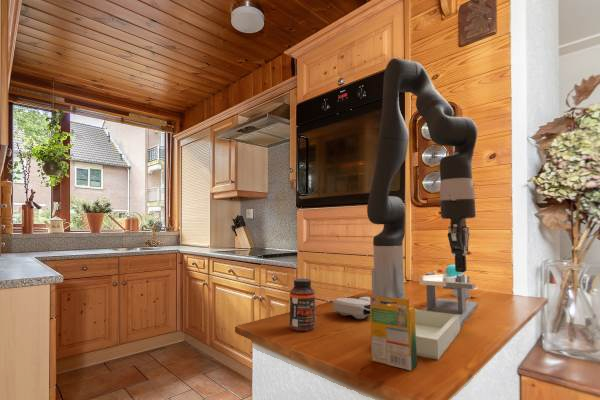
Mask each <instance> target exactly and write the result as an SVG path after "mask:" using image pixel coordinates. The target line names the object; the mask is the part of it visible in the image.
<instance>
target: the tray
mask: <svg viewBox="0 0 600 400" xmlns="http://www.w3.org/2000/svg"><path fill="white" fill-rule="evenodd" d="M415 326H416V351H417V356H418V357H421V358H427V359H432V360H440V359H441V357H442V356H443V354H444V353H445V351H447V349H448V348H449V347H450V345H451V343H452V342H453V341H454V340H456V337H457V336H458V335H459V333H460V332H461V327H460V315H455V314H448V313H440V312H432V311H425V310H422V309H416V308H415Z"/></svg>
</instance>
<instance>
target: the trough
mask: <svg viewBox="0 0 600 400" xmlns="http://www.w3.org/2000/svg"><path fill="white" fill-rule="evenodd" d="M461 274H465V272H461ZM419 285H424V286H426V285H433V286H435V287H443V289H447V290H452V289H455V290H457V288H467V289H470V290H472V289H474V288H475V287H476V284H475V283H472V282H470V283H467V275H465V283H460V282H457V276H454V277H449V276H448V275H447V274H446V273H440V274H435V275H426V274H425V275H419Z"/></svg>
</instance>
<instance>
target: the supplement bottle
mask: <svg viewBox="0 0 600 400" xmlns="http://www.w3.org/2000/svg"><path fill="white" fill-rule="evenodd" d="M311 283H312V280H311V279H309V278H295V279H294V280H293V285H294V286H293V288H291V289H290V291H289V327H290V329H291V330H293V331H295V332H309V331H312V330H314V329H315V327H316V292H315V290H314V289H313V288H312V286H311V285H312V284H311Z"/></svg>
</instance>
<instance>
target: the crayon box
mask: <svg viewBox="0 0 600 400" xmlns="http://www.w3.org/2000/svg"><path fill="white" fill-rule="evenodd" d="M369 295H370V296H369V297H370V303H371V306H370V314H371V315H370V348H371V349H370V351H371V353H370V357H371V358H370V359H371V362H372V363H379V364H382V365H383V364H384V365H387V366H391V367H396V368H400V369H403V370H407V371H410V372H411V371H412V370H413V369H414V368H416V367H417V366H418V357H417V351H416V326H415V309H416V308H415V307H409V306H410V305H409V304H410V301H409V299H406V298H404V299H399V298H391V297H383V296H374V295H372V294H369ZM381 300H385V301H387V300H390V301H392V302H391V303H397V305H393V304H389V305H387V304H388V303H387V304H382V303H383V302H382V301H381Z"/></svg>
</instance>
